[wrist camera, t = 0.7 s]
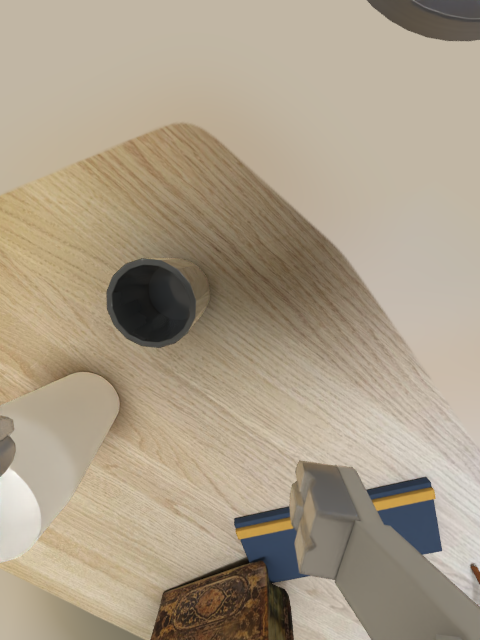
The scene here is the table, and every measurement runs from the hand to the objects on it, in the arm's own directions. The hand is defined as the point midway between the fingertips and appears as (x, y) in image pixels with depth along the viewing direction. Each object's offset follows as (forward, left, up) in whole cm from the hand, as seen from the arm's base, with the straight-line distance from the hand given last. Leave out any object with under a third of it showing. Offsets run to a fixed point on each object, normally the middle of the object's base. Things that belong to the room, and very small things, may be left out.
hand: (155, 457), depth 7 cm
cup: (+16, +5, -18) cm, 24 cm away
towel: (-5, +29, -18) cm, 34 cm away
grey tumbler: (+3, -3, -18) cm, 18 cm away
